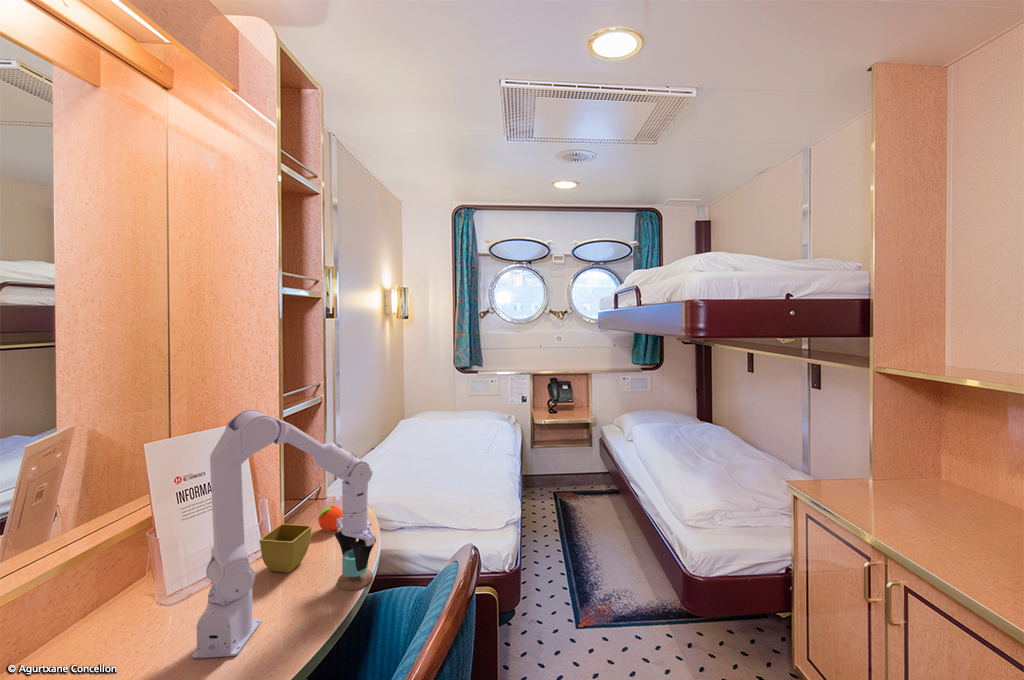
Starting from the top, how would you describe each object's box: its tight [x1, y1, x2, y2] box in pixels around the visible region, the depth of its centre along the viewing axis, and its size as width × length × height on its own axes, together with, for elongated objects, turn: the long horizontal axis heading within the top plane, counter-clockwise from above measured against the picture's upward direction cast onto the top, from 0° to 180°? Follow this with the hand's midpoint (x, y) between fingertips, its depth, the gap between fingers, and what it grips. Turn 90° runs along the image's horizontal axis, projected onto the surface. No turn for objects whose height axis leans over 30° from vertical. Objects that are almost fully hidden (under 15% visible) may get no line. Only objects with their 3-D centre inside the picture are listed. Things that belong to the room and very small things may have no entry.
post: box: [337, 569, 374, 592], centre depth 101 cm, size 8×8×5 cm
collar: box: [341, 549, 369, 577], centre depth 101 cm, size 5×5×4 cm
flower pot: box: [259, 523, 313, 573], centre depth 106 cm, size 9×9×9 cm
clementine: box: [317, 505, 342, 532], centre depth 126 cm, size 8×7×7 cm
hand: (355, 564), depth 101 cm, fingers closed on collar, 5 cm apart
